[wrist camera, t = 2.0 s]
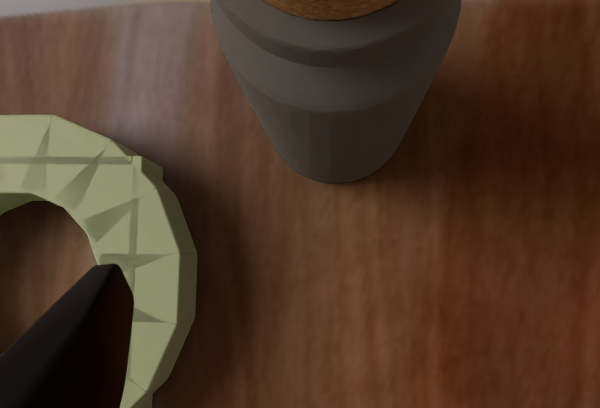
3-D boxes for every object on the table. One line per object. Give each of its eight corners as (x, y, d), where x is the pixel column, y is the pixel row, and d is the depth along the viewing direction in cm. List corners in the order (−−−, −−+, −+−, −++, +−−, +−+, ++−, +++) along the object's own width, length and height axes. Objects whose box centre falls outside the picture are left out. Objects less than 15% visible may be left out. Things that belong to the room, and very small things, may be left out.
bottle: (376, 205, 22) (457, 81, 7) (247, 156, 23) (72, -52, 8) (425, 76, 22) (596, -291, 8) (297, 32, 23) (223, -388, 8)
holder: (203, 129, 23) (186, 113, 20) (190, 452, 21) (171, 477, 19) (-89, 130, 24) (-138, 114, 21) (-120, 438, 22) (-177, 460, 20)
